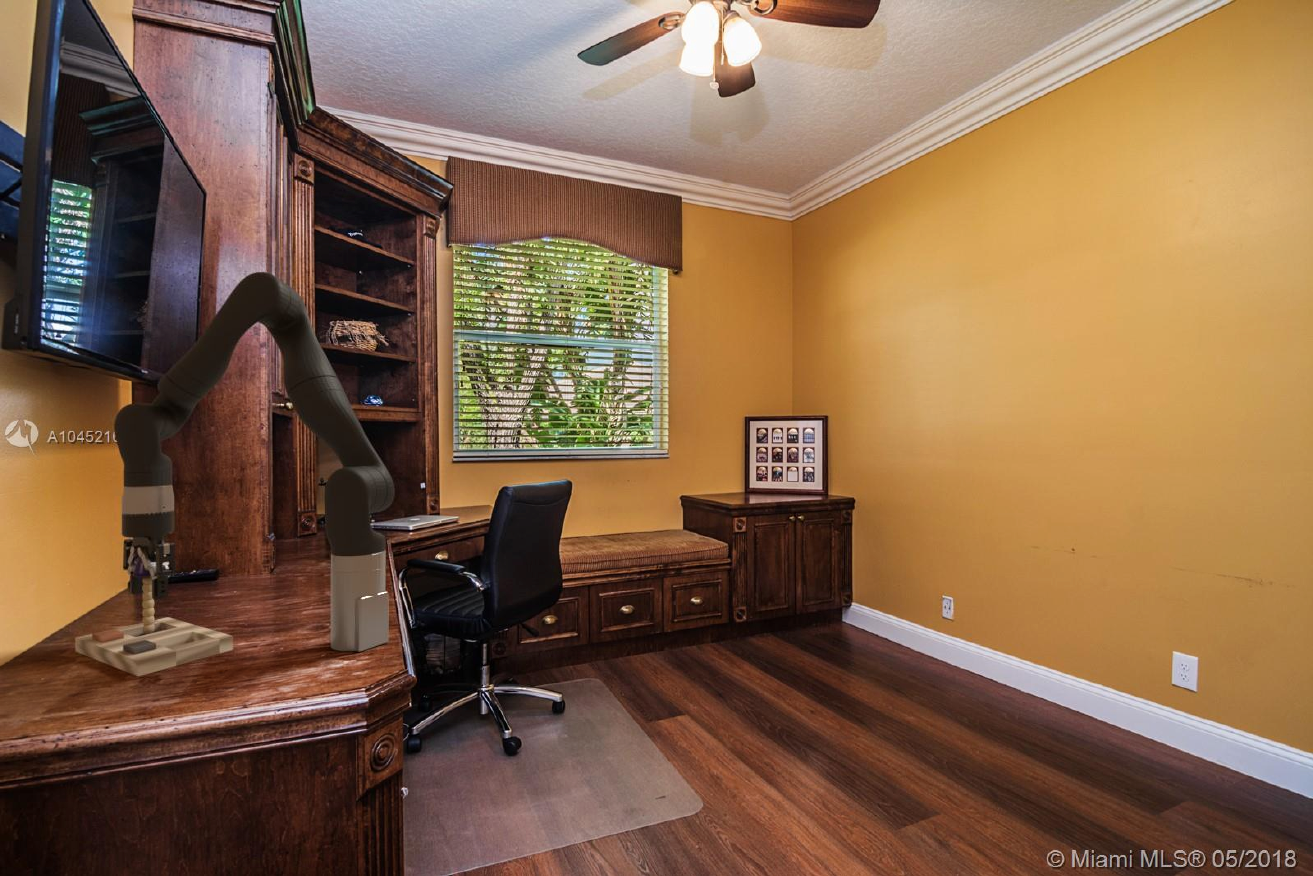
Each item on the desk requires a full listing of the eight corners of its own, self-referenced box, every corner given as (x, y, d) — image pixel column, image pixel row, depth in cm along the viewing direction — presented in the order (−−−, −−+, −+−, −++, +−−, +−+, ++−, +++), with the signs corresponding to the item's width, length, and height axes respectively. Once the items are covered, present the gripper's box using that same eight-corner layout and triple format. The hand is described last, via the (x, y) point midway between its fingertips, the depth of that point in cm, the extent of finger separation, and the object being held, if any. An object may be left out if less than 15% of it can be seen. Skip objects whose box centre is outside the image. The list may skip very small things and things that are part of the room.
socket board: (233, 649, 109) (233, 630, 109) (138, 676, 96) (138, 654, 96) (167, 629, 120) (167, 612, 120) (75, 651, 108) (75, 632, 108)
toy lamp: (127, 644, 112) (128, 554, 112) (157, 637, 116) (158, 550, 116) (139, 647, 109) (140, 556, 110) (169, 640, 114) (170, 552, 114)
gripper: (191, 509, 112) (191, 596, 112) (154, 506, 119) (154, 587, 119) (142, 514, 106) (142, 605, 106) (105, 510, 112) (106, 596, 112)
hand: (148, 596), depth 112 cm, fingers open, 8 cm apart
